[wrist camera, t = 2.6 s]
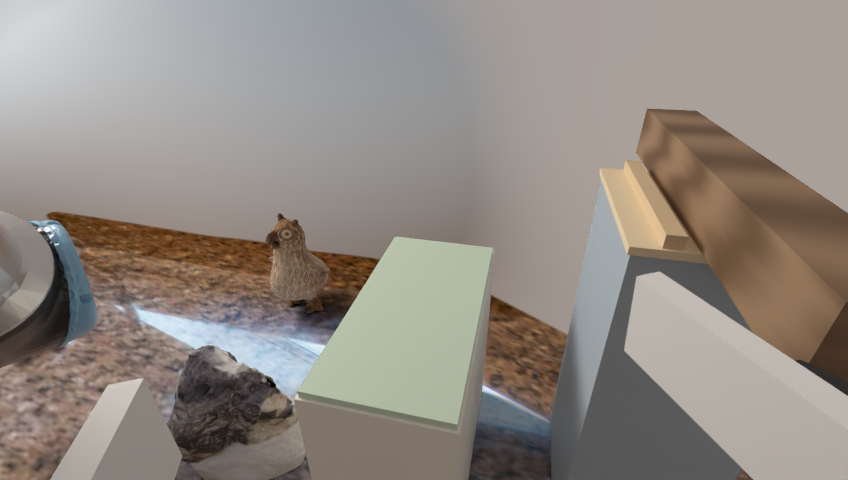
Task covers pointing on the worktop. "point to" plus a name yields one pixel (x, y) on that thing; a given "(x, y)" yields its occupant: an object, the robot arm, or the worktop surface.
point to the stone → (233, 420)
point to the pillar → (605, 340)
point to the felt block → (403, 369)
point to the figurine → (295, 266)
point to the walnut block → (757, 234)
